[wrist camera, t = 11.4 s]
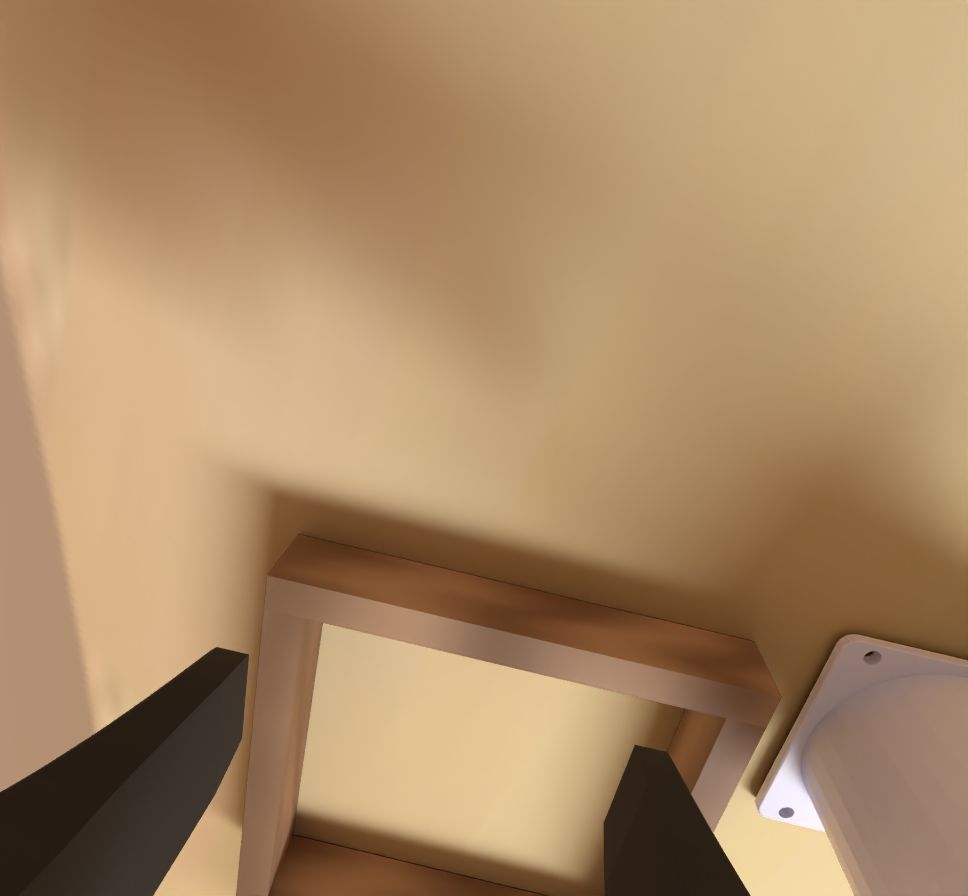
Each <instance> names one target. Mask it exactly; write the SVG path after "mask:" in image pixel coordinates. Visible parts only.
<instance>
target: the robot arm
mask: <svg viewBox="0 0 968 896" xmlns="http://www.w3.org/2000/svg"><path fill="white" fill-rule="evenodd" d="M871 651H875V652H874V653H873V654H872V655H870V656H865V655H866V654H867V653H868V652H871ZM248 660H249V655H248V654H244V653H240V652H235V651H231V650H227V649H222V648H218V647H216V648H214V649H213V650H211V651H209V652H208V653H207V654H205V655H204V656H203V657H201V658H200V659H199V660H197V661H196V662H195V663H193V664H192V665H191V666H189V667H188V668H187V669H185V670H184V671H183V672H181V673H180V674H179V675H177V676H176V677H175V678H173V679H172V680H171V681H169V682H168V683H166V684H165V685H164V686H162V687H161V688H160V689H158V690H157V691H156V692H154V693H153V694H151V695H150V696H149V697H147V698H146V699H144V700H143V701H142V702H140V703H139V704H137V705H136V706H134V707H133V708H132V709H130V710H129V711H127V712H126V713H124V714H123V715H122V716H120V717H119V718H117V719H116V720H114V721H113V722H112V723H110V724H109V725H107V726H106V727H104V728H103V729H101V730H100V731H98V732H97V733H95V734H94V735H92V736H91V737H89V738H88V739H86V740H85V741H83V742H81V743H80V744H78V745H77V746H75V747H74V748H72V749H70V750H69V751H67V752H66V753H64V754H63V755H61V756H60V757H58V758H56V759H55V760H53V761H52V762H50V763H49V764H47V765H45V766H44V767H42V768H41V769H39V770H37V771H36V772H34V773H32V774H31V775H29V776H27V777H26V778H24V779H22V780H21V781H19V782H17V783H16V784H14V785H12V786H10V787H9V788H7V789H5V790H3V791H2V792H0V896H153V895H154V893H155V892H156V890H157V889H158V887H159V885H160V884H161V882H162V880H163V879H164V877H165V876H166V874H167V872H168V871H169V869H170V867H171V866H172V864H173V863H174V861H175V859H176V858H177V856H178V854H179V853H180V851H181V850H182V848H183V846H184V845H185V843H186V841H187V840H188V838H189V837H190V835H191V833H192V832H193V830H194V828H195V827H196V825H197V823H198V822H199V820H200V819H201V817H202V815H203V814H204V812H205V810H206V809H207V807H208V805H209V804H210V802H211V800H212V799H213V797H214V795H215V793H216V791H217V789H218V787H219V785H220V783H221V781H222V779H223V777H224V775H225V773H226V771H227V769H228V767H229V765H230V763H231V760H232V758H233V756H234V754H235V752H236V750H237V748H238V745H239V743H240V741H241V739H242V732H243V720H244V708H245V696H246V684H247V672H248ZM755 803H756V806H757V809H758V812H759V813H760V814H761V815H762V816H764V817H766V818H769V819H774V820H778V821H782V822H786V823H790V824H795V825H799V826H803V827H807V828H811V829H815V830H820V831H824V832H826V834H827V836H828V838H829V841H830V843H831V845H832V847H833V849H834V852H835V854H836V856H837V858H838V860H839V862H840V865H841V867H842V869H843V871H844V873H845V876H846V878H847V880H848V882H849V884H850V887H851V889H852V891H853V893H854V895H855V896H968V660H965V659H960V658H956V657H952V656H948V655H943V654H939V653H935V652H931V651H926V650H922V649H918V648H914V647H909V646H905V645H901V644H897V643H892V642H888V641H884V640H880V639H875V638H871V637H867V636H862V635H858V634H851V635H846V636H844V637H843V638H841V639H840V640H839V641H838V642H837V643H836V645H835V647H834V649H833V651H832V653H831V655H830V657H829V659H828V661H827V662H826V664H825V666H824V668H823V670H822V672H821V674H820V676H819V678H818V680H817V682H816V683H815V685H814V687H813V689H812V691H811V693H810V695H809V697H808V699H807V701H806V703H805V704H804V706H803V708H802V710H801V712H800V714H799V716H798V718H797V720H796V722H795V724H794V725H793V727H792V729H791V731H790V733H789V735H788V737H787V739H786V741H785V743H784V745H783V746H782V748H781V750H780V752H779V754H778V756H777V758H776V760H775V762H774V764H773V766H772V767H771V769H770V771H769V773H768V775H767V777H766V779H765V781H764V783H763V785H762V787H761V788H760V790H759V792H758V794H757V796H756V799H755ZM784 807H785V808H784ZM604 880H605V894H606V896H750V894H749V892H748V891H747V889H746V888H745V886H744V884H743V883H742V881H741V879H740V878H739V876H738V874H737V873H736V871H735V869H734V868H733V866H732V864H731V863H730V861H729V859H728V858H727V856H726V854H725V853H724V851H723V849H722V848H721V846H720V844H719V842H718V841H717V839H716V837H715V835H714V834H713V832H712V830H711V828H710V827H709V825H708V823H707V821H706V820H705V818H704V816H703V814H702V813H701V811H700V809H699V807H698V805H697V804H696V802H695V800H694V798H693V796H692V795H691V793H690V791H689V789H688V787H687V785H686V784H685V782H684V780H683V778H682V776H681V775H680V773H679V771H678V769H677V767H676V766H675V764H674V762H673V760H672V758H671V757H670V755H669V753H667V752H663V751H659V750H655V749H650V748H646V747H642V746H638V745H635V746H634V749H633V751H632V754H631V756H630V759H629V761H628V764H627V766H626V769H625V771H624V774H623V776H622V779H621V781H620V784H619V786H618V789H617V791H616V794H615V796H614V799H613V801H612V804H611V806H610V809H609V811H608V814H607V816H606V819H605V821H604Z"/></svg>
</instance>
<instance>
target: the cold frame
mask: <svg viewBox="0 0 968 896" xmlns="http://www.w3.org/2000/svg"><path fill="white" fill-rule="evenodd" d="M323 623H326V624H330V625H335V626H339V627H343V628H347V629H351V630H356V631H360V632H364V633H368V634H373V635H377V636H381V637H385V638H389V639H394V640H398V641H402V642H406V643H411V644H415V645H419V646H423V647H427V648H432V649H436V650H440V651H444V652H448V653H453V654H457V655H461V656H465V657H470V658H474V659H478V660H482V661H486V662H491V663H495V664H499V665H503V666H508V667H512V668H516V669H520V670H524V671H529V672H533V673H537V674H541V675H545V676H550V677H554V678H558V679H562V680H567V681H571V682H575V683H579V684H583V685H588V686H592V687H596V688H600V689H604V690H609V691H613V692H617V693H621V694H626V695H630V696H634V697H638V698H642V699H647V700H651V701H655V702H659V703H664V704H668V705H672V706H676V707H680V708H685V709H686V710H685V712H684V714H683V717H682V719H681V721H680V724H679V726H678V728H677V730H676V733H675V735H674V737H673V740H672V742H671V744H670V747H669V749H668V751H667V753H669V755H670V757H671V758H672V760H673V762H674V764H675V766H676V767H677V769H678V771H679V773H680V775H681V776H682V778H683V780H684V782H685V784H686V785H687V787H688V789H689V791H690V793H691V795H692V796H693V798H694V800H695V802H696V804H697V805H698V807H699V809H700V811H701V813H702V814H703V816H704V818H705V820H706V821H707V823H708V825H709V827H710V828H711V830H712V832H714V830H715V828H716V826H717V824H718V822H719V820H720V818H721V816H722V814H723V812H724V810H725V808H726V806H727V804H728V802H729V800H730V799H731V797H732V795H733V793H734V791H735V789H736V787H737V785H738V783H739V781H740V779H741V777H742V775H743V773H744V771H745V769H746V767H747V765H748V763H749V761H750V759H751V757H752V755H753V753H754V751H755V749H756V747H757V745H758V743H759V741H760V739H761V737H762V735H763V733H764V731H765V729H766V727H767V725H768V723H769V721H770V719H771V717H772V715H773V713H774V711H775V709H776V707H777V705H778V703H779V701H780V699H781V695H780V693H779V691H778V689H777V687H776V685H775V683H774V681H773V679H772V677H771V675H770V673H769V671H768V668H767V666H766V664H765V662H764V660H763V658H762V656H761V654H760V652H759V650H758V648H757V646H756V644H755V642H753V641H749V640H745V639H741V638H737V637H732V636H728V635H724V634H720V633H715V632H711V631H707V630H703V629H698V628H694V627H690V626H686V625H681V624H677V623H673V622H669V621H664V620H660V619H656V618H652V617H647V616H643V615H639V614H635V613H630V612H626V611H622V610H618V609H614V608H609V607H605V606H601V605H597V604H592V603H588V602H584V601H580V600H575V599H571V598H567V597H563V596H558V595H554V594H550V593H546V592H541V591H537V590H533V589H529V588H524V587H520V586H516V585H512V584H507V583H503V582H499V581H495V580H491V579H486V578H482V577H478V576H474V575H469V574H465V573H461V572H457V571H452V570H448V569H444V568H440V567H435V566H431V565H427V564H423V563H418V562H414V561H410V560H406V559H401V558H397V557H393V556H389V555H384V554H380V553H376V552H372V551H368V550H363V549H359V548H355V547H351V546H346V545H342V544H338V543H334V542H329V541H325V540H321V539H317V538H312V537H308V536H304V535H300V534H299V535H298V536H297V537H296V539H295V540H294V541H293V543H292V544H291V545H290V546H289V548H288V549H287V550H286V552H285V553H284V554H283V556H282V557H281V558H280V559H279V561H278V562H277V563H276V565H275V566H274V567H273V569H272V570H271V571H270V572H269V574H268V575H267V583H266V593H265V603H264V613H263V624H262V634H261V644H260V655H259V665H258V675H257V685H256V696H255V706H254V716H253V727H252V737H251V747H250V758H249V768H248V778H247V788H246V799H245V809H244V819H243V830H242V840H241V850H240V861H239V871H238V881H237V891H236V896H544V895H540V894H536V893H532V892H527V891H523V890H519V889H515V888H511V887H507V886H503V885H498V884H494V883H490V882H486V881H482V880H478V879H473V878H469V877H465V876H461V875H457V874H453V873H449V872H444V871H440V870H436V869H432V868H428V867H424V866H419V865H415V864H411V863H407V862H403V861H399V860H395V859H390V858H386V857H382V856H378V855H374V854H370V853H366V852H361V851H357V850H353V849H349V848H345V847H341V846H336V845H332V844H328V843H324V842H320V841H316V840H312V839H307V838H303V837H299V836H295V835H293V830H294V823H295V816H296V809H297V802H298V795H299V788H300V781H301V774H302V767H303V759H304V752H305V745H306V738H307V731H308V724H309V717H310V710H311V703H312V696H313V689H314V681H315V674H316V667H317V660H318V653H319V646H320V639H321V632H322V625H323ZM605 896H606V894H605Z"/></svg>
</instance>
